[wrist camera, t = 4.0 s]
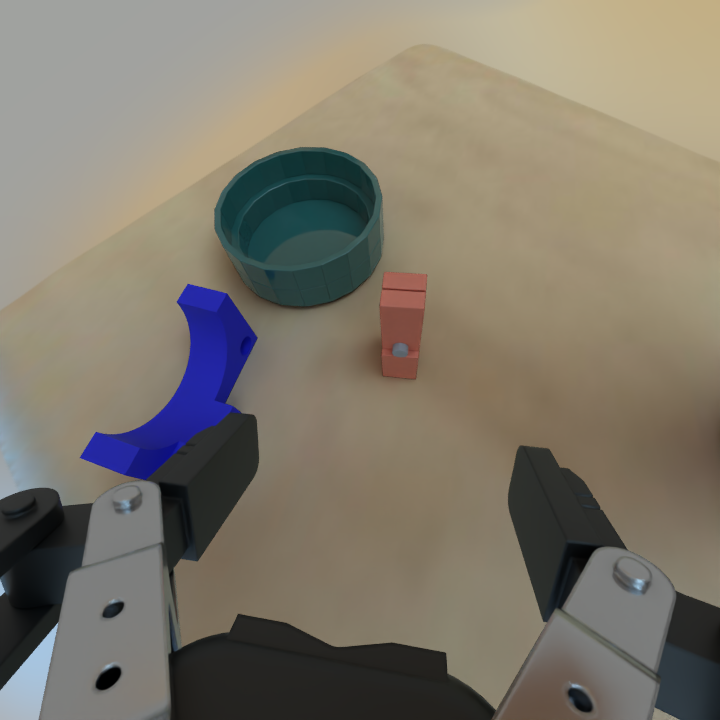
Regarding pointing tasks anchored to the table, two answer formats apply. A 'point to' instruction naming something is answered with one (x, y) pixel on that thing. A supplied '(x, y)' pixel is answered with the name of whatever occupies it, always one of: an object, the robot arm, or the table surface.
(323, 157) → the bowl
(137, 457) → the cable clip
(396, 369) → the clothespin
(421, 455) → the table surface
